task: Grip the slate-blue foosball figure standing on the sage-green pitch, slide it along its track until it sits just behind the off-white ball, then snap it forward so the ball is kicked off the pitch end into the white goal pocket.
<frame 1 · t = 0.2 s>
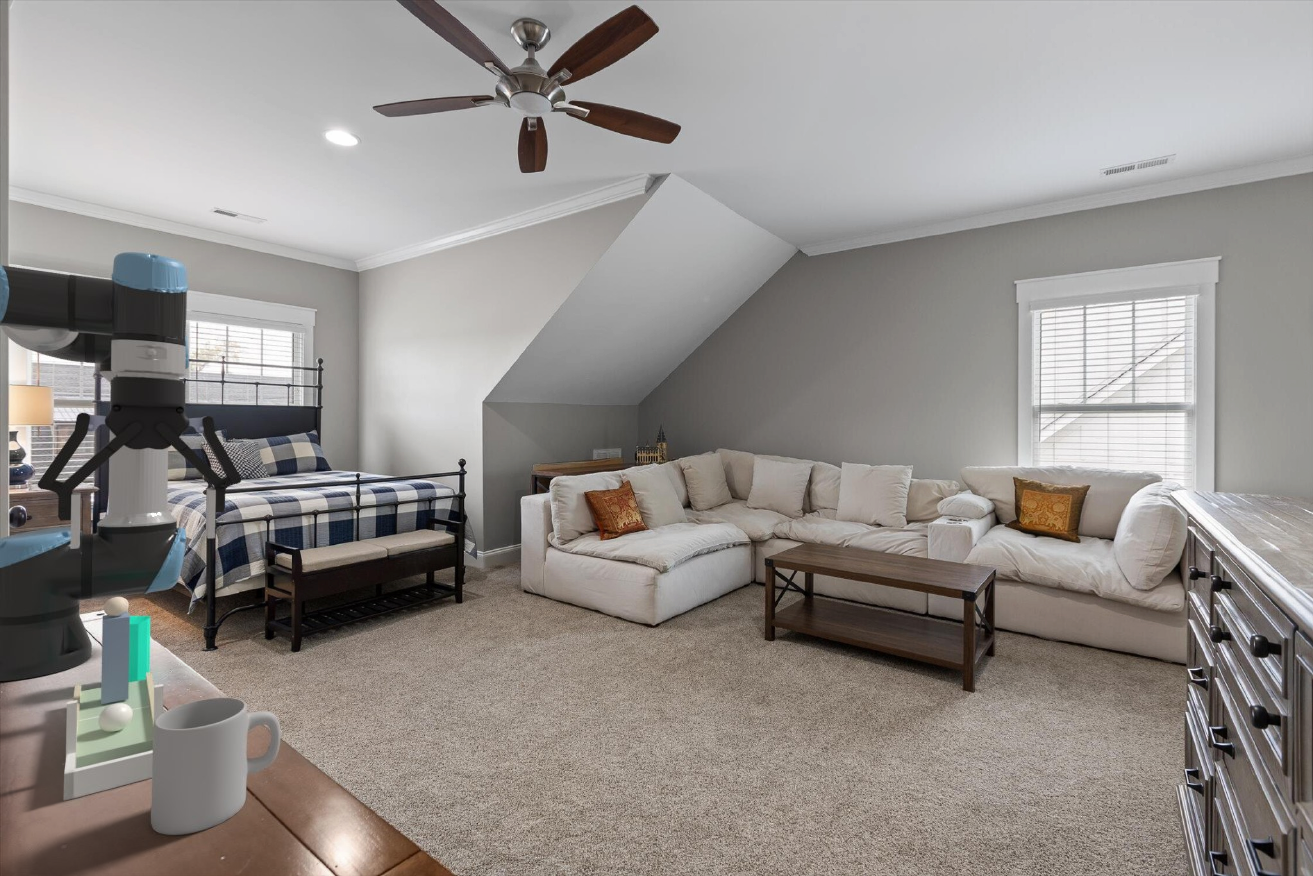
hand: (146, 542, 82), 27 cm above the table, fingers open, 13 cm apart
pitch: (114, 727, 89), on the table
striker: (115, 647, 93), point 10 cm above the table, slide at 0.0 cm
goal: (115, 775, 77), on the table
mug: (218, 807, 72), on the table
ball: (115, 717, 84), point 4 cm above the table, touching pitch
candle: (125, 684, 104), on the table
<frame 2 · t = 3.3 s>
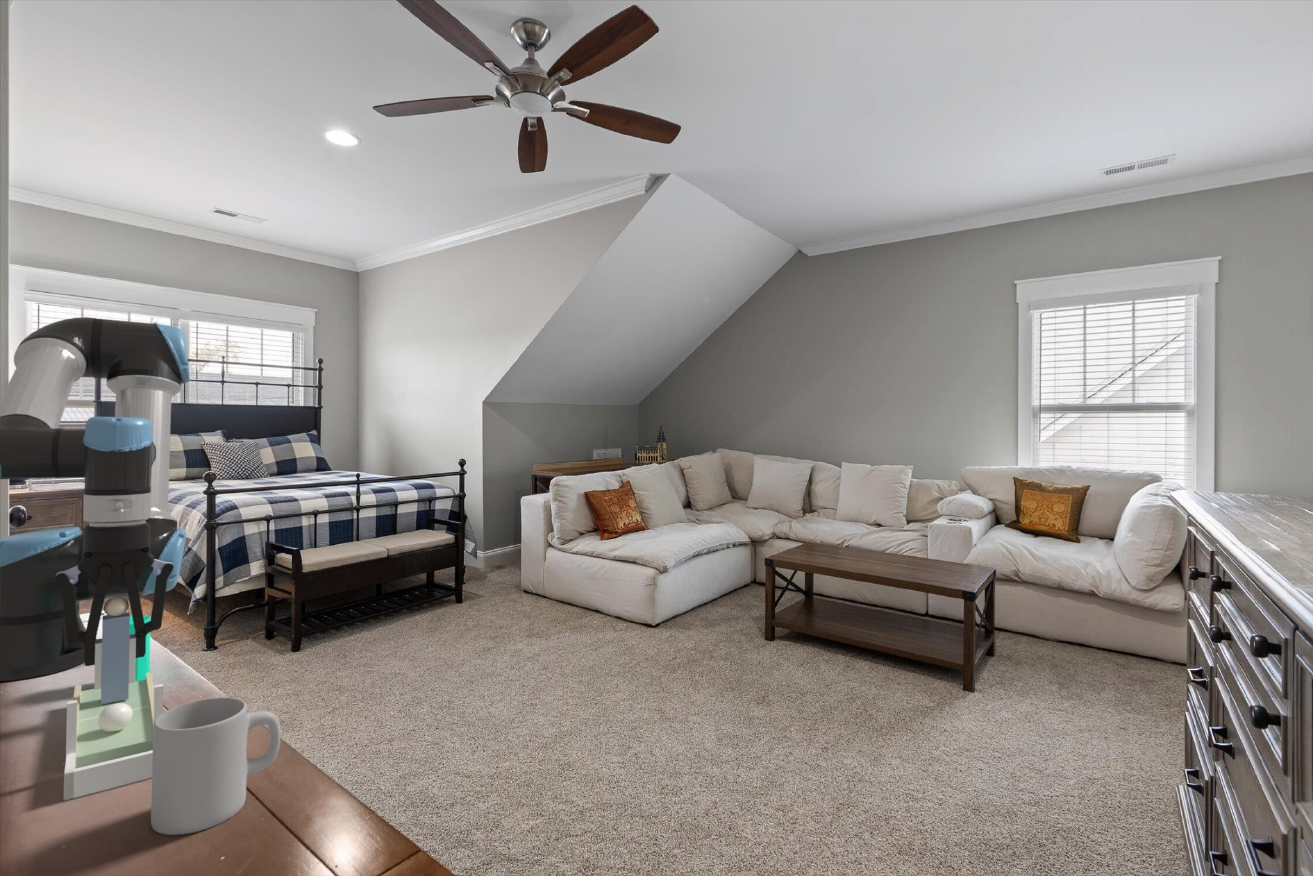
hand: (115, 682, 93), 5 cm above the table, fingers closed on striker, 3 cm apart
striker: (115, 647, 93), point 10 cm above the table, slide at 0.0 cm, touching gripper
everything else where it was.
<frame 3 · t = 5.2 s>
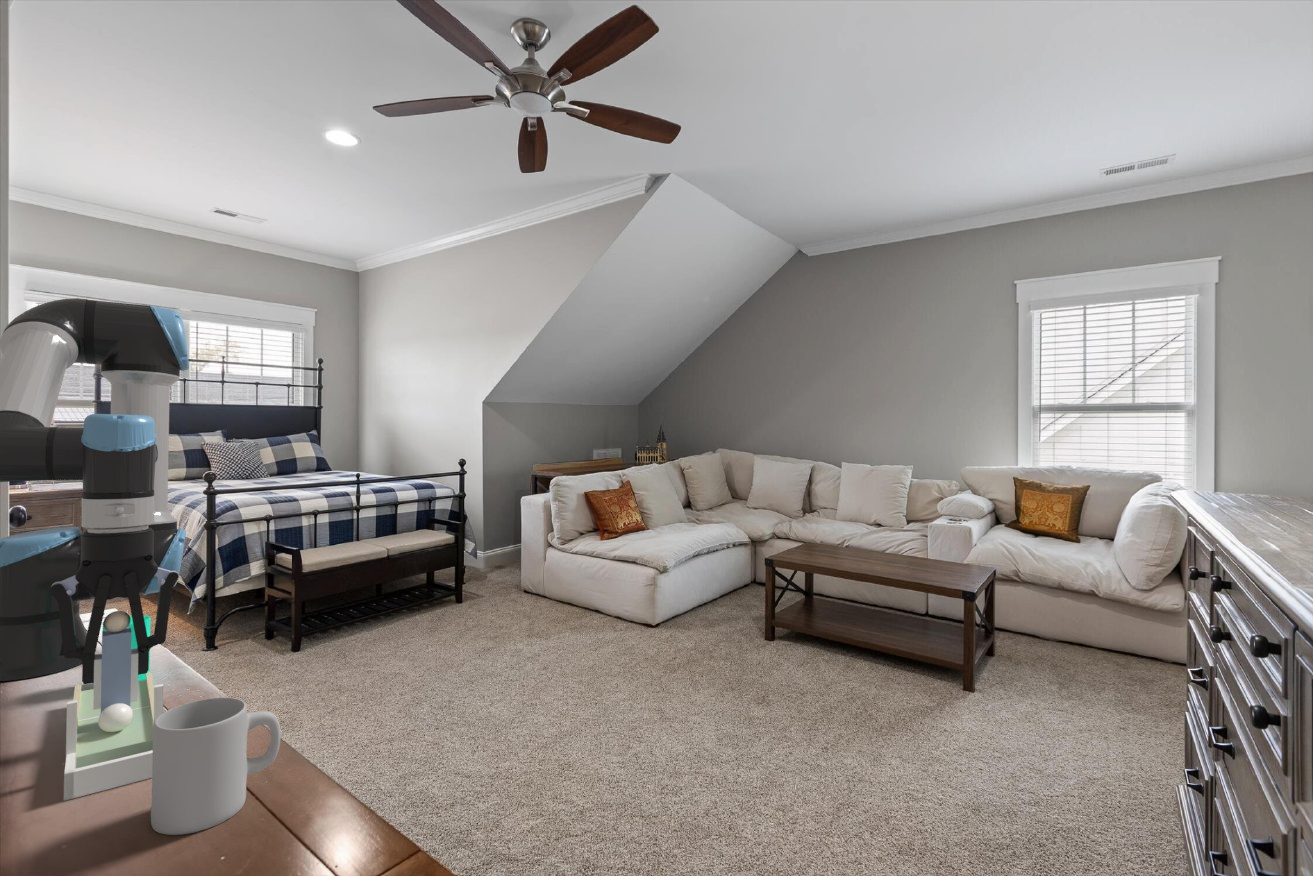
hand: (115, 701, 86), 5 cm above the table, fingers closed on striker, 3 cm apart
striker: (116, 665, 86), point 10 cm above the table, slide at 9.1 cm, touching gripper
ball: (115, 717, 84), point 4 cm above the table
everything else where it was.
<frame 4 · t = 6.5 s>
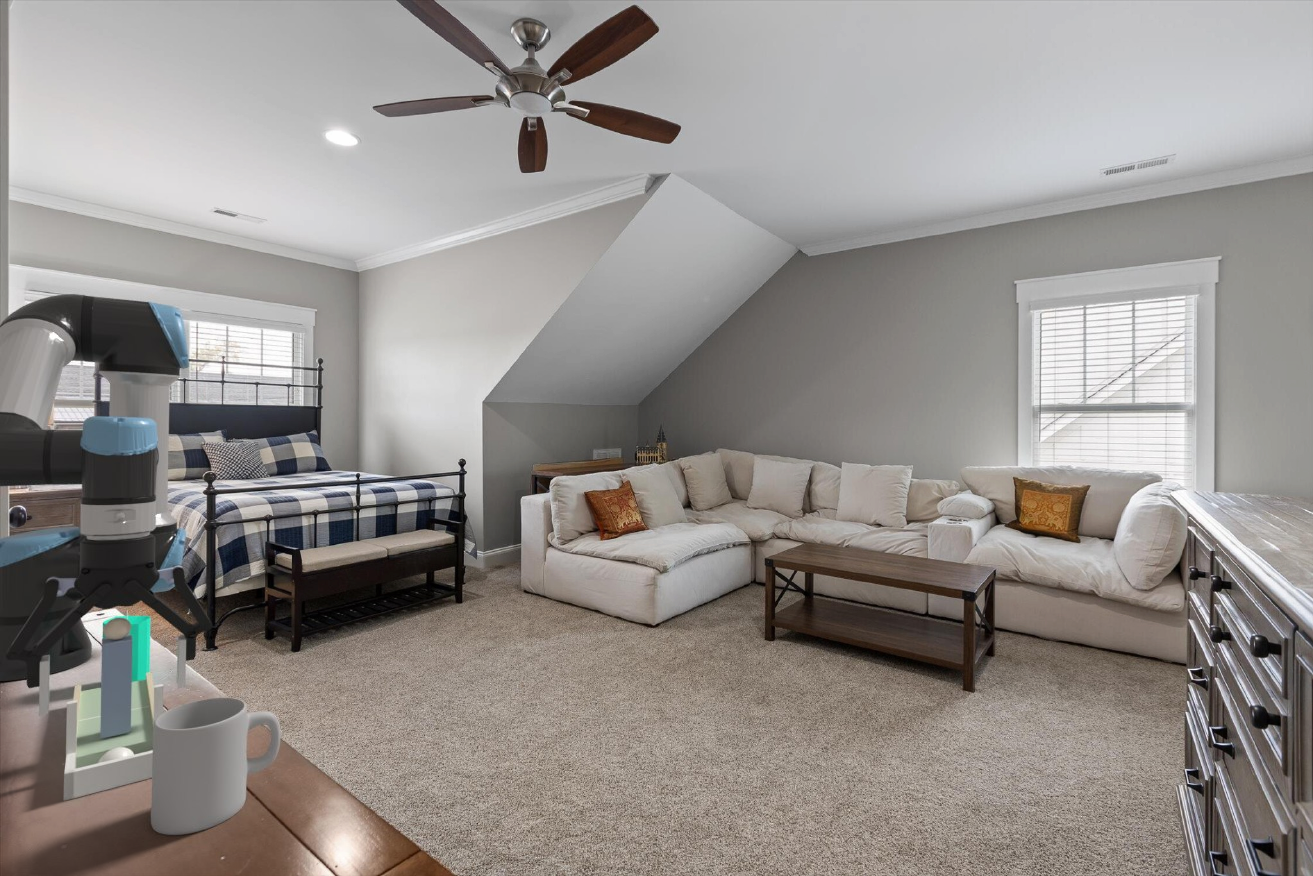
hand: (116, 697, 83), 7 cm above the table, fingers open, 13 cm apart
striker: (116, 674, 83), point 10 cm above the table, slide at 13.0 cm
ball: (116, 763, 77), point 2 cm above the table, tilted 56°
everything else where it was.
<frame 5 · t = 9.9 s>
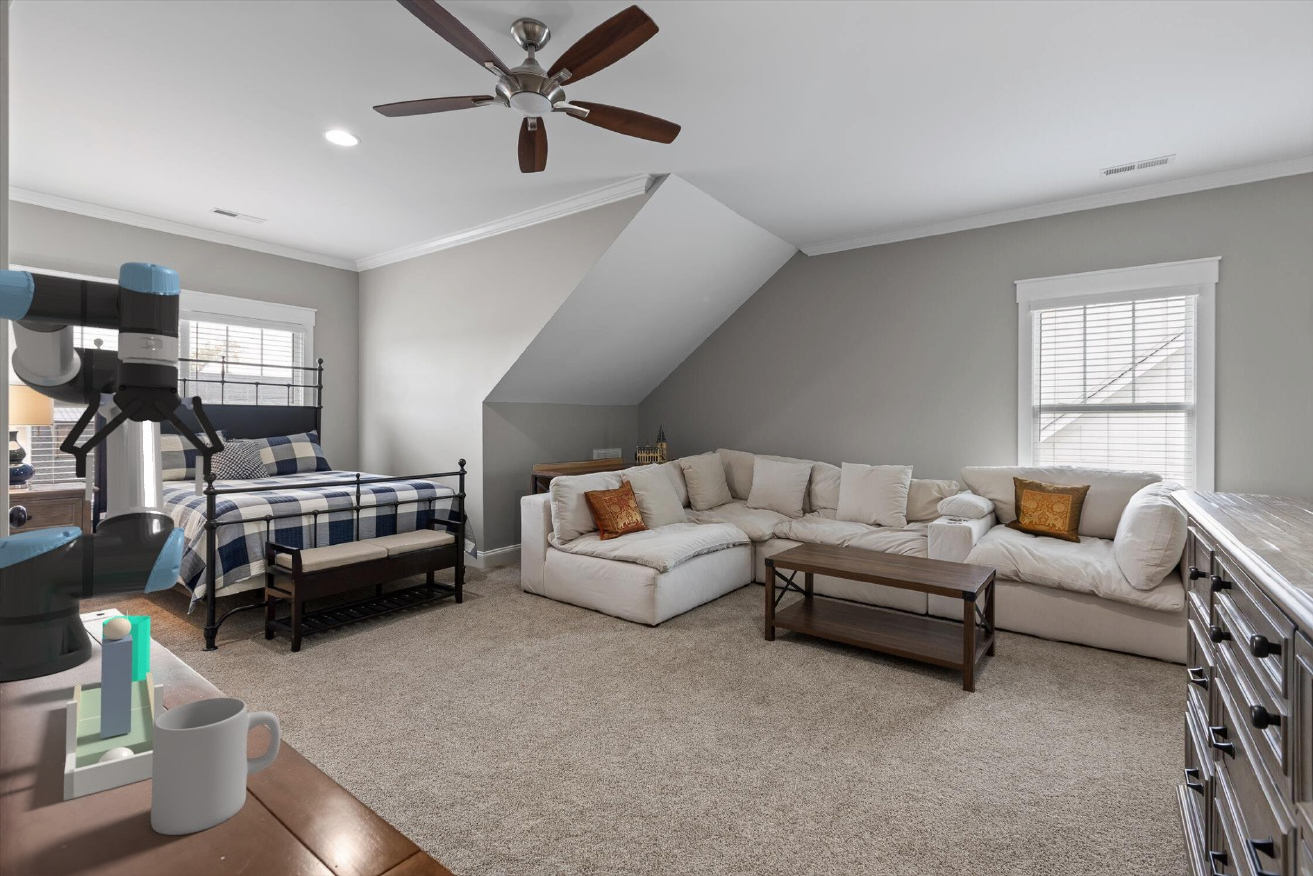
hand: (146, 497, 101), 31 cm above the table, fingers open, 13 cm apart
nothing on the table moved.
at the end: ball inside the target area on the goal (0.9 cm from its centre), point 1.7 cm above the goal's base; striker slide at 13.0 cm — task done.
